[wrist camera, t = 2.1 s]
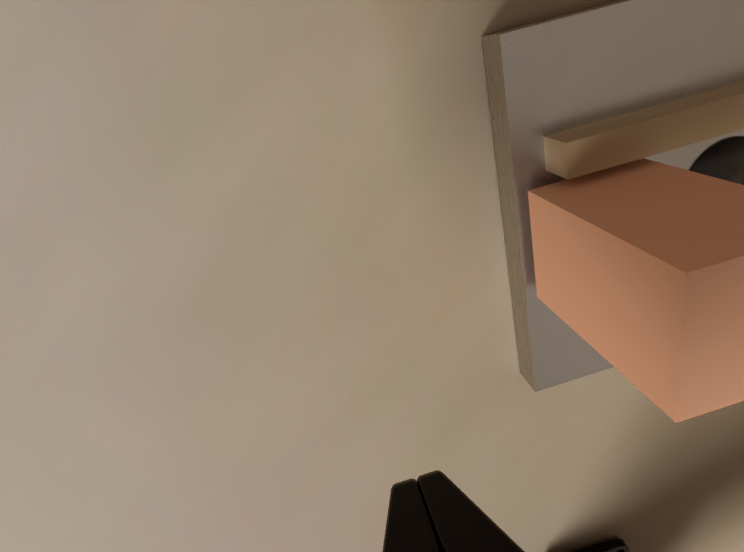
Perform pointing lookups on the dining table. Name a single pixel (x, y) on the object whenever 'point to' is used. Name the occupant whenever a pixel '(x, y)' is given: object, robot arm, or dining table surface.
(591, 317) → the slide leg
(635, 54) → the flange plate
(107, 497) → the dining table surface
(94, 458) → the dining table surface
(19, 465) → the dining table surface
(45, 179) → the dining table surface
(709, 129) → the bar
